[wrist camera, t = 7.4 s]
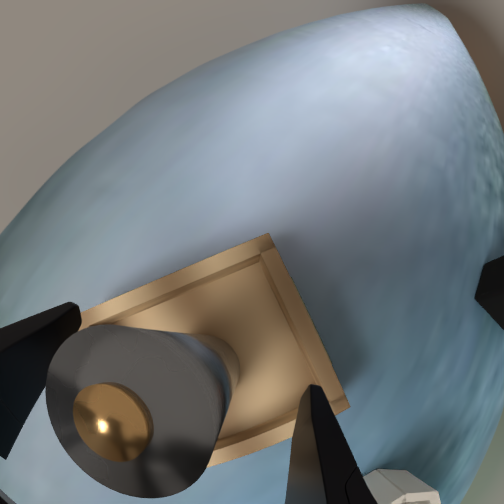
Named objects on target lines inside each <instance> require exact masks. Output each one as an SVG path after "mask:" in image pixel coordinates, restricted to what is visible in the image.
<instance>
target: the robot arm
mask: <svg viewBox="0 0 504 504" xmlns="http://www.w3.org/2000/svg"><path fill="white" fill-rule="evenodd" d="M81 324H82V318H81V313H80V309H79V306H78V305H77V304H75V303H73V302H67V303H64V304H62V305H59V306H57V307H54V308H51V309H49V310H46V311H44V312H41V313H38V314H36V315H33V316H31V317H28V318H26V319H23V320H20V321H18V322H15V323H13V324H10V325H8V326H5V327H3V328H0V456H1V457H2V458H4V459H5V460H6V459H7V457H8V455H9V453H10V451H11V449H12V447H13V445H14V443H15V441H16V439H17V437H18V435H19V433H20V431H21V429H22V427H23V425H24V423H25V421H26V419H27V417H28V416H29V414H30V412H31V410H32V408H33V407H34V405H35V403H36V401H37V400H38V398H39V396H40V395H41V393H42V391H43V390H44V388H45V386H46V379H47V373H48V370H49V366H50V363H51V361H52V359H53V357H54V355H55V353H56V352H57V350H58V349H59V347H60V346H61V345H62V344H63V343H64V341H65V340H66V339H68V338H69V337H70V336H72V335H73V334H74V333H76V332H78V330H79V328H80V327H81ZM0 504H16V503H15V502H14V501H13V500H11V499H10V498H9V497H8V496H7V495H6V494H5V493H4V492H3V491H2V490H0ZM285 504H378V503H377V501H376V500H375V498H374V496H373V495H372V493H371V491H370V490H369V488H368V486H367V484H366V482H365V480H364V478H363V476H362V474H361V472H360V469H359V467H358V466H357V463H356V461H355V459H354V456H353V454H352V452H351V450H350V448H349V445H348V443H347V441H346V439H345V437H344V434H343V432H342V430H341V428H340V426H339V423H338V421H337V419H336V417H335V415H334V413H333V410H332V408H331V406H330V404H329V402H328V399H327V397H326V395H325V393H324V391H323V389H322V387H321V386H319V385H315V384H310V385H309V386H308V387H307V389H306V390H305V392H304V393H303V395H302V396H301V399H300V403H299V408H298V413H297V418H296V422H295V427H294V432H293V437H292V445H291V455H290V465H289V474H288V483H287V491H286V499H285Z"/></svg>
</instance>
